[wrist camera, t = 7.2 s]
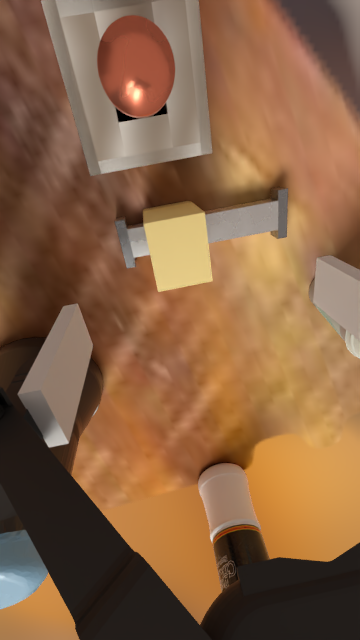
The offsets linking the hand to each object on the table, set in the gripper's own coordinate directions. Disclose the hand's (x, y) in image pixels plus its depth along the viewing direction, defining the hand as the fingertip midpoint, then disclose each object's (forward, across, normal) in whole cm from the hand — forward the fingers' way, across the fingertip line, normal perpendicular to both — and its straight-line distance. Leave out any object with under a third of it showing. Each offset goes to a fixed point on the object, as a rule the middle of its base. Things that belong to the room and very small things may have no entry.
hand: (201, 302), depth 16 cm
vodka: (+19, +2, -47) cm, 51 cm away
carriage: (+19, 0, 0) cm, 19 cm away
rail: (+19, +4, 0) cm, 19 cm away
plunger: (+11, -1, +11) cm, 16 cm away
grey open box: (+19, -1, +11) cm, 22 cm away
